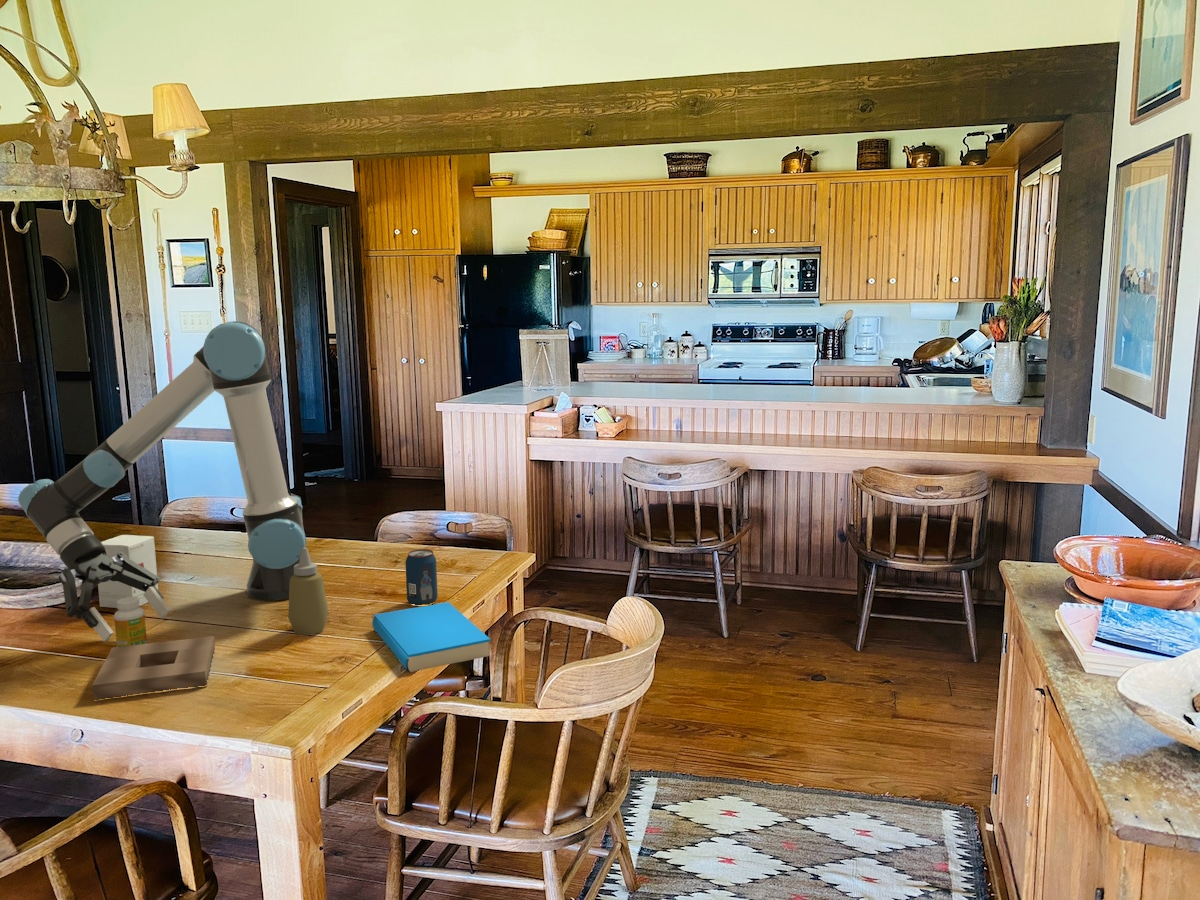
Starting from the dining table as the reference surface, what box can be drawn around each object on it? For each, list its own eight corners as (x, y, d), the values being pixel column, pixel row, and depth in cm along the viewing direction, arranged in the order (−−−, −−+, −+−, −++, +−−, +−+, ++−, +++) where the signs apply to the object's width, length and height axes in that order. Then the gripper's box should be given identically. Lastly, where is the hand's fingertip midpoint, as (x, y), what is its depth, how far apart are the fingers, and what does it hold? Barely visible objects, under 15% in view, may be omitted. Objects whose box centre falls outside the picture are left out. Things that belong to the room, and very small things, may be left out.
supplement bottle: (131, 652, 176) (127, 605, 174) (110, 649, 177) (106, 603, 176) (153, 643, 181) (149, 597, 179) (132, 639, 182) (128, 594, 181)
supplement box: (133, 610, 200) (127, 546, 198) (98, 607, 202) (92, 544, 200) (160, 597, 209) (155, 535, 207) (127, 594, 211) (121, 533, 208)
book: (448, 601, 195) (491, 636, 173) (448, 620, 195) (492, 657, 174) (370, 615, 187) (406, 653, 165) (371, 634, 187) (407, 675, 166)
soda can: (420, 596, 209) (418, 547, 207) (443, 600, 206) (442, 550, 204) (400, 605, 203) (398, 554, 201) (424, 609, 200) (422, 558, 198)
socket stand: (214, 650, 177) (213, 636, 176) (206, 687, 160) (205, 671, 159) (113, 662, 171) (112, 647, 170) (93, 701, 154) (92, 685, 154)
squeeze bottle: (292, 640, 182) (286, 555, 179) (286, 628, 189) (281, 546, 186) (332, 633, 185) (328, 550, 182) (325, 621, 192) (320, 541, 189)
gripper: (121, 541, 193) (179, 616, 190) (9, 574, 170) (73, 659, 167) (137, 520, 190) (196, 595, 188) (26, 550, 167) (91, 636, 165)
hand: (138, 625), depth 177 cm, fingers open, 13 cm apart
